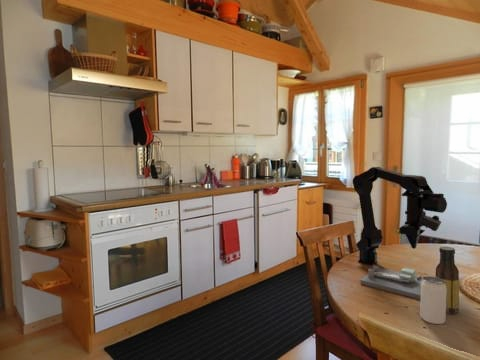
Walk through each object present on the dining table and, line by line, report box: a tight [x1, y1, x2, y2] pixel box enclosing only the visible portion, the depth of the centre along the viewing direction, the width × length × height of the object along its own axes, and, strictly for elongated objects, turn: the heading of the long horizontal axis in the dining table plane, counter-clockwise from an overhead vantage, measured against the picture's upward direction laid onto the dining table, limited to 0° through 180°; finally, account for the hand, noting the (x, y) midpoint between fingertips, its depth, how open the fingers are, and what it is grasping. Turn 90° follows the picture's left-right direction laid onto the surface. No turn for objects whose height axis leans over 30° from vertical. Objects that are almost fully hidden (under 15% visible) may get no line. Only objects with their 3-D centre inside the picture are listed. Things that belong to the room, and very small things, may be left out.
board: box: [360, 264, 424, 301], centre depth 119 cm, size 22×17×4 cm
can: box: [419, 276, 447, 325], centre depth 94 cm, size 6×6×12 cm
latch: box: [399, 267, 416, 282], centre depth 118 cm, size 4×6×4 cm, turn 138°
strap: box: [374, 271, 411, 282], centre depth 120 cm, size 14×3×1 cm, turn 48°
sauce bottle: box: [434, 245, 460, 315], centre depth 99 cm, size 6×6×20 cm
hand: (413, 248), depth 124 cm, fingers closed
